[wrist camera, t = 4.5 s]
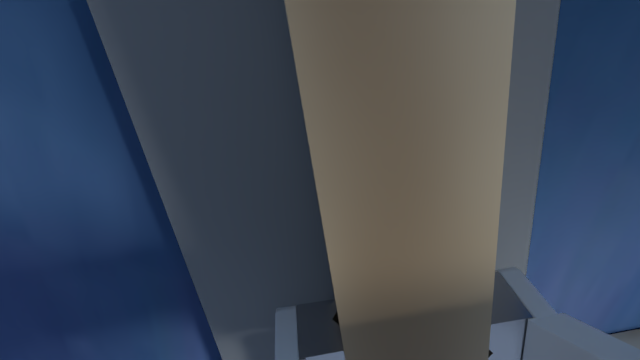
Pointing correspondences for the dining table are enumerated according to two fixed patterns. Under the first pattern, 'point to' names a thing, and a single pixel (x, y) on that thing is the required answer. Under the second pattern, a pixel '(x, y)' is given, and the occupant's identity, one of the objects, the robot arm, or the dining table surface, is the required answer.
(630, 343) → the board
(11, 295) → the dining table surface
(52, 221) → the dining table surface
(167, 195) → the mat
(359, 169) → the turner
